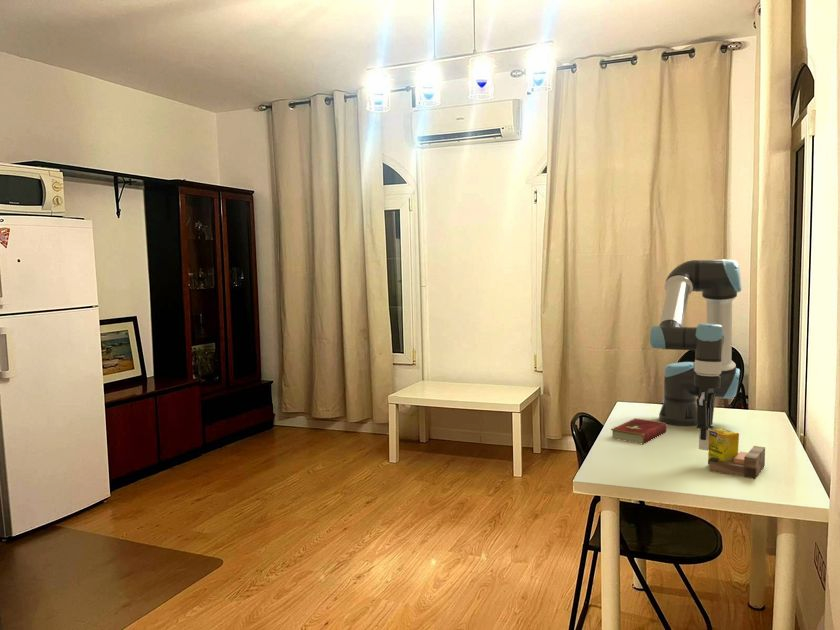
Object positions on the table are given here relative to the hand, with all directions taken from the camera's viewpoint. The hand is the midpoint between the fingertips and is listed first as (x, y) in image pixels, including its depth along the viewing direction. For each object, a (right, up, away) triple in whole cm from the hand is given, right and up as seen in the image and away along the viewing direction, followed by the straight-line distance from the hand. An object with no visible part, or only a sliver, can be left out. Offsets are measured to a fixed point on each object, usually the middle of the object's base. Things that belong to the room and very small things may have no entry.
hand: (703, 449), depth 198 cm
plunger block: (+9, -5, -6) cm, 12 cm away
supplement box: (+5, -5, -3) cm, 7 cm away
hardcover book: (-8, -3, +34) cm, 35 cm away
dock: (+8, -5, -5) cm, 10 cm away
